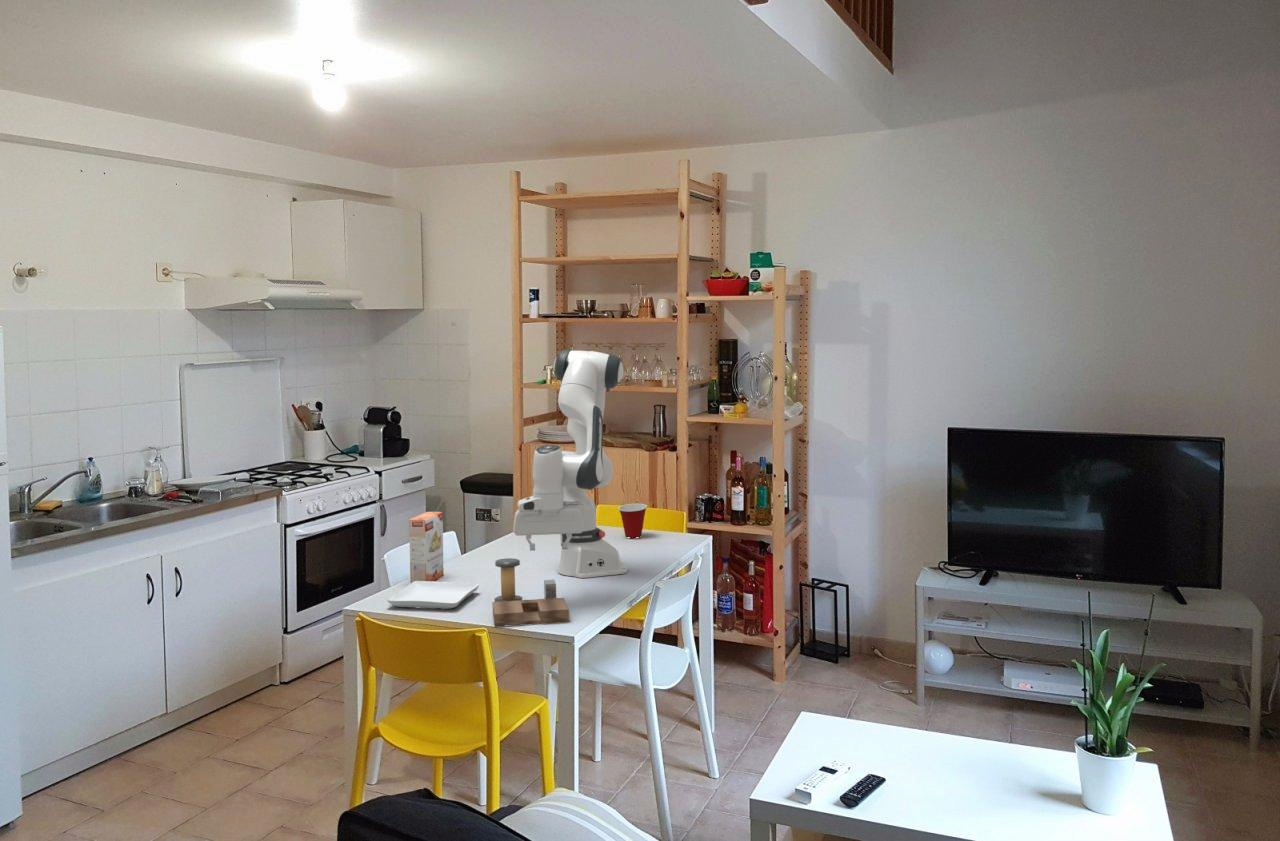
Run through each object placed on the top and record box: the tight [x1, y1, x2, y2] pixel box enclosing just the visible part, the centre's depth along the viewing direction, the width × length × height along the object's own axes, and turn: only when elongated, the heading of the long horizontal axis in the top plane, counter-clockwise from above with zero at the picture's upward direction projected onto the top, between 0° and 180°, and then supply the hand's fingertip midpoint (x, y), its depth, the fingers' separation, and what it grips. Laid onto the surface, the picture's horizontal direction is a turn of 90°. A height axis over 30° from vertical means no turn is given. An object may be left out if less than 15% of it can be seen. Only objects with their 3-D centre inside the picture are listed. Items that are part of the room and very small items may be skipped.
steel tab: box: [543, 579, 557, 599], centre depth 300 cm, size 3×5×6 cm, turn 11°
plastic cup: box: [617, 503, 648, 538], centre depth 386 cm, size 11×11×12 cm
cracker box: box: [408, 511, 445, 584], centre depth 326 cm, size 14×6×21 cm, turn 168°
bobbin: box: [494, 557, 523, 602], centre depth 298 cm, size 8×8×12 cm
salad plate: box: [386, 580, 480, 610], centre depth 303 cm, size 21×21×3 cm
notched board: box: [491, 597, 570, 628], centre depth 284 cm, size 20×12×4 cm, turn 101°
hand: (548, 549), depth 298 cm, fingers open, 8 cm apart
